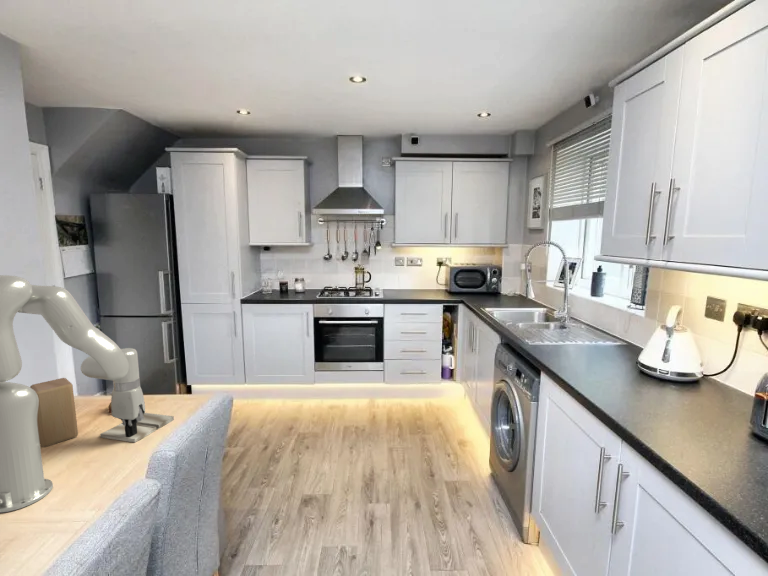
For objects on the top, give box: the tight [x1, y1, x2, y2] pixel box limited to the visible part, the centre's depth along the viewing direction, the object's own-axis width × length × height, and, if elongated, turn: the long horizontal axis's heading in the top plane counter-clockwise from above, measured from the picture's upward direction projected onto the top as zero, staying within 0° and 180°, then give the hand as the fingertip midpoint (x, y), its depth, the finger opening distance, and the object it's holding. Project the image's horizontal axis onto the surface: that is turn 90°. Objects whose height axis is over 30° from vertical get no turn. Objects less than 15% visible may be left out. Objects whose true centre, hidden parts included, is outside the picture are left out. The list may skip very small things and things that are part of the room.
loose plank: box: [99, 422, 157, 443], centre depth 136 cm, size 9×15×1 cm, turn 76°
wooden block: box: [29, 377, 79, 448], centre depth 132 cm, size 10×10×20 cm
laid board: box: [137, 412, 175, 431], centre depth 145 cm, size 8×15×2 cm, turn 76°
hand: (131, 435), depth 133 cm, fingers closed
